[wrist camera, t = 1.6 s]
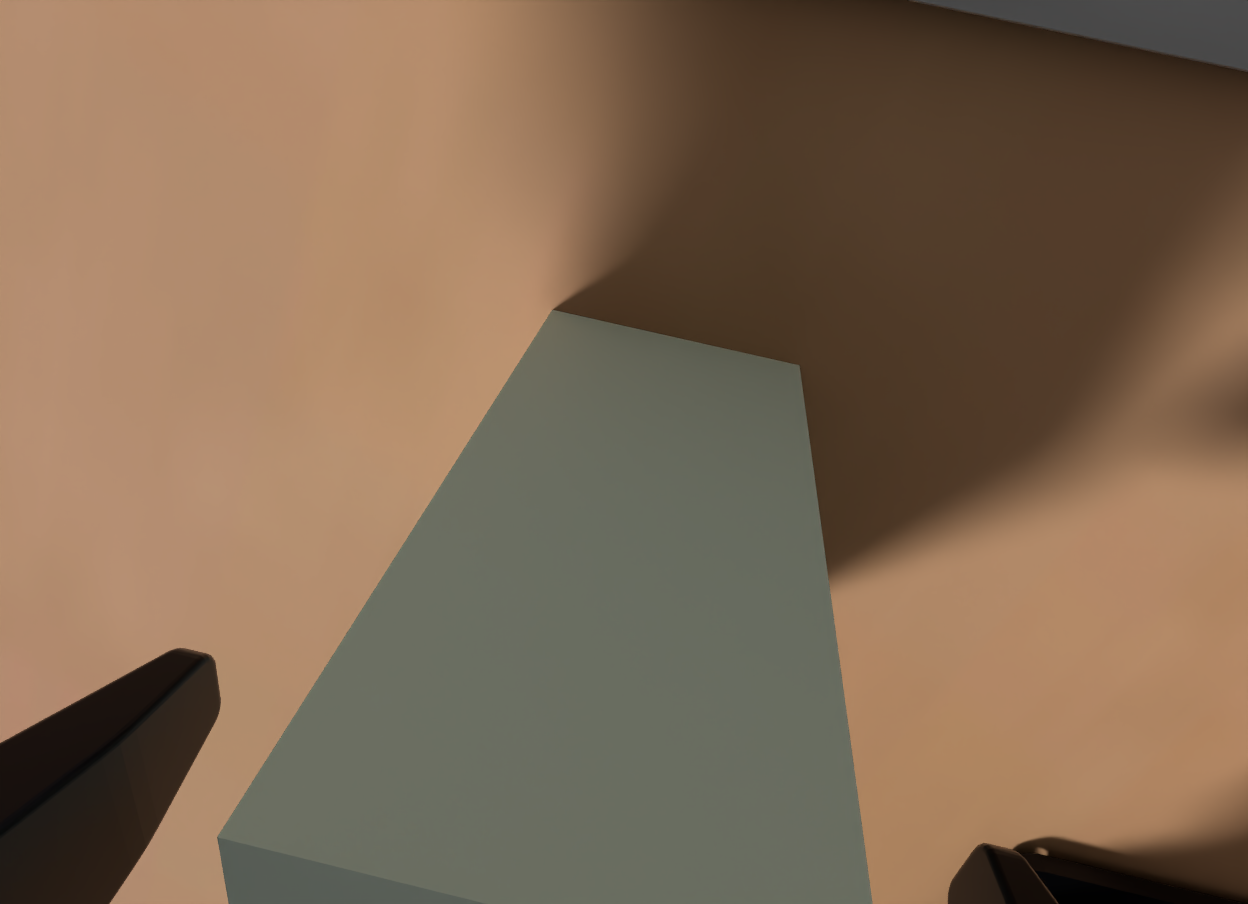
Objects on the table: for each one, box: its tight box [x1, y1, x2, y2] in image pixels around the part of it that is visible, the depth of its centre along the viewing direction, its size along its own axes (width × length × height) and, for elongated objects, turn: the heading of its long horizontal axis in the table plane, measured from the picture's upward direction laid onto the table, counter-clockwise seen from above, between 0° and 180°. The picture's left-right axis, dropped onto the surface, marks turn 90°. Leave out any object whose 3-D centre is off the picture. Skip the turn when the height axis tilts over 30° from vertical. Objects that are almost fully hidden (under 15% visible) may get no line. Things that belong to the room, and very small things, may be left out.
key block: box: [217, 310, 872, 904], centre depth 10 cm, size 4×6×9 cm, turn 170°
